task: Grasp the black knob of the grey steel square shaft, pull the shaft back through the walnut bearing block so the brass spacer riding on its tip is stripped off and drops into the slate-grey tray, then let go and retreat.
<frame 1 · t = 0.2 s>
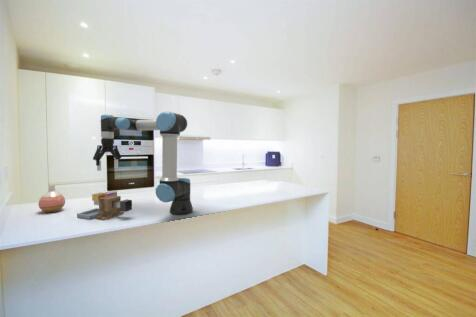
hand: (108, 169, 154), 28 cm above the table, fingers open, 13 cm apart
bearing block: (110, 216, 141), on the table
tray: (93, 215, 142), on the table
box: (108, 209, 156), on the table
shaft: (111, 203, 140), point 8 cm above the table, slide at 0.0 cm, touching spacer
vase: (52, 211, 149), on the table
spacer: (99, 199, 143), point 9 cm above the table, touching shaft
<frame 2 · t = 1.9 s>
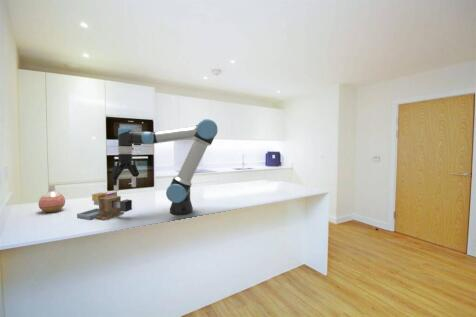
hand: (125, 188, 136), 18 cm above the table, fingers open, 13 cm apart
nothing on the table moved.
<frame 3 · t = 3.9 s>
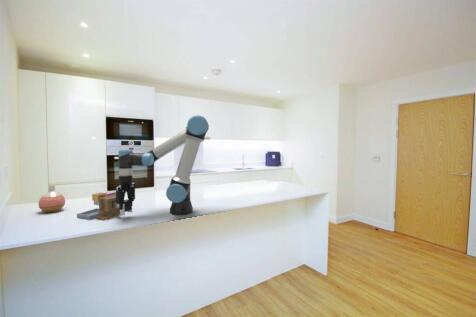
hand: (126, 213, 137), 3 cm above the table, fingers closed on shaft, 5 cm apart
shaft: (111, 203, 140), point 8 cm above the table, slide at 0.0 cm, touching gripper, spacer
everything else where it was.
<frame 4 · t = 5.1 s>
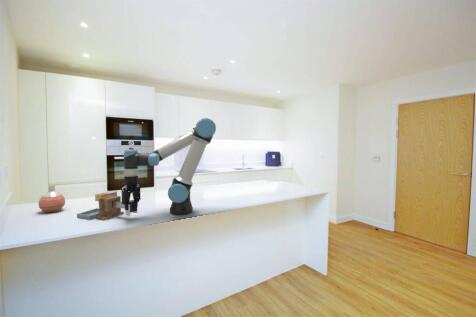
hand: (131, 213, 136), 3 cm above the table, fingers closed on shaft, 5 cm apart
shaft: (116, 204, 139), point 8 cm above the table, slide at 4.0 cm, touching gripper, spacer
spacer: (102, 200, 143), point 10 cm above the table, touching shaft
everything else where it was.
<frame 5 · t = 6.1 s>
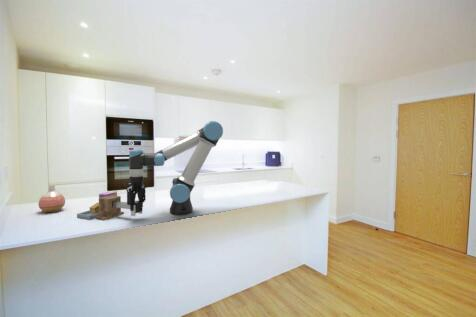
hand: (136, 214, 135), 3 cm above the table, fingers closed on shaft, 5 cm apart
shaft: (121, 204, 138), point 8 cm above the table, slide at 7.8 cm, touching gripper
spacer: (99, 209, 143), point 4 cm above the table, tilted 89°, touching tray
everything else where it was.
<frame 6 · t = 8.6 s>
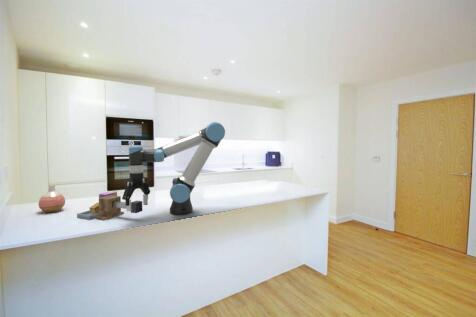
hand: (137, 207, 135), 7 cm above the table, fingers open, 13 cm apart
shaft: (121, 205, 138), point 8 cm above the table, slide at 7.8 cm
everything else where it was.
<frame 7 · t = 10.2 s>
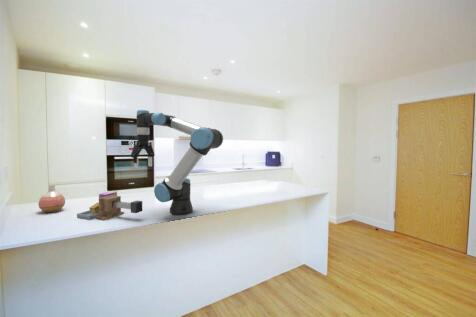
hand: (143, 167, 147), 30 cm above the table, fingers open, 13 cm apart
nothing on the table moved.
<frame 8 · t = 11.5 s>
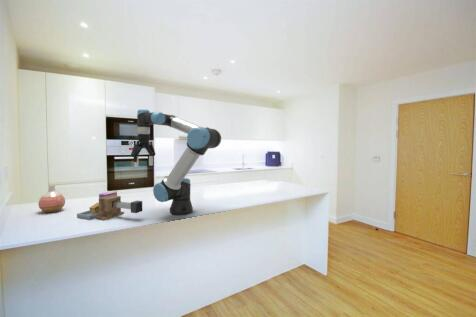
hand: (144, 166, 149), 31 cm above the table, fingers open, 13 cm apart
nothing on the table moved.
at the end: spacer inside the target area (2.7 cm from its centre), point 3.9 cm above the table; shaft slide at 7.8 cm; the gripper is holding nothing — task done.
